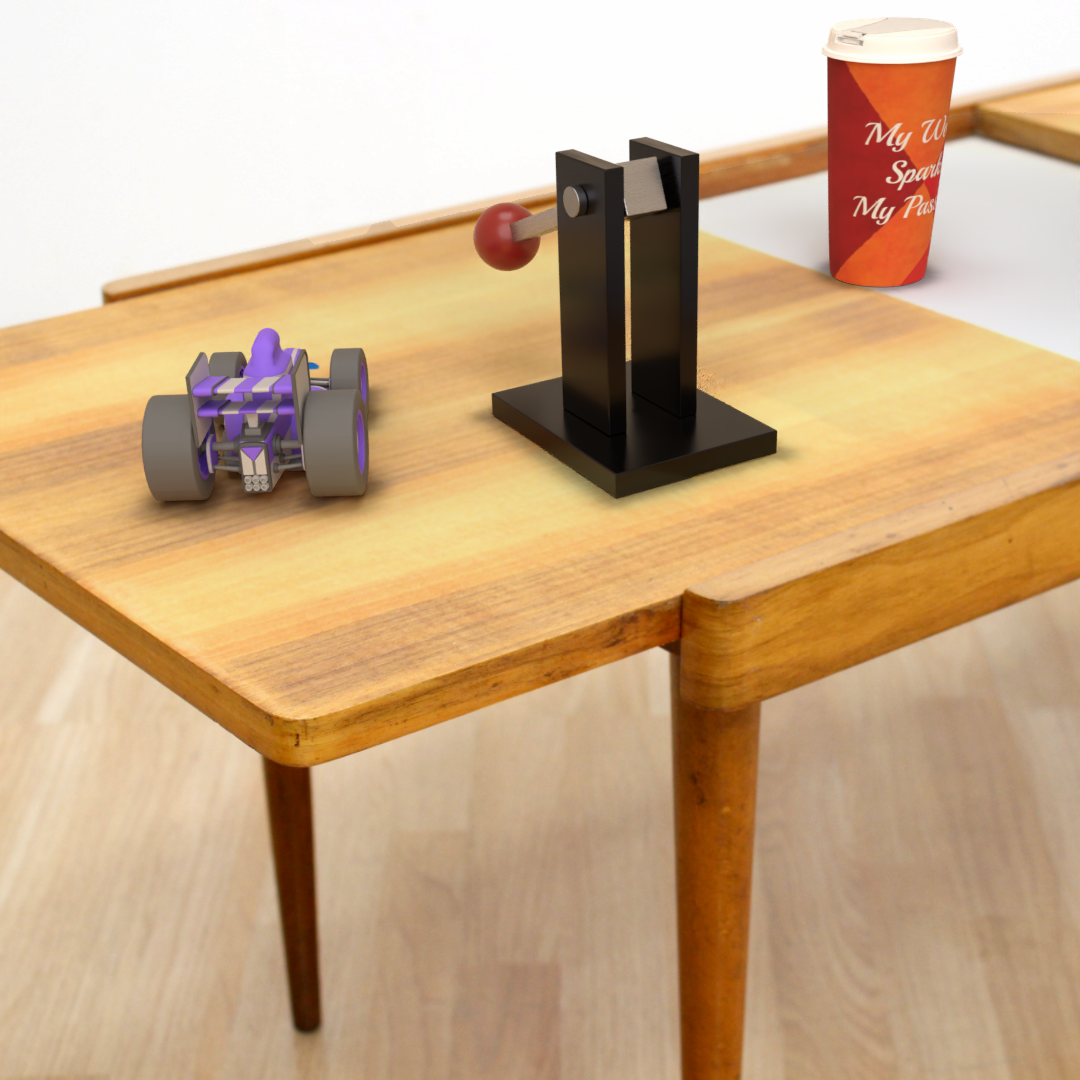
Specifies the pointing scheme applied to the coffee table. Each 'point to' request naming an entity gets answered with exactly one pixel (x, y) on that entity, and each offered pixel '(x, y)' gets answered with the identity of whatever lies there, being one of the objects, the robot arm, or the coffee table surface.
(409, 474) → the coffee table surface
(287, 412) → the toy race car
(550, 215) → the lever
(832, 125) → the coffee cup
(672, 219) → the bracket
